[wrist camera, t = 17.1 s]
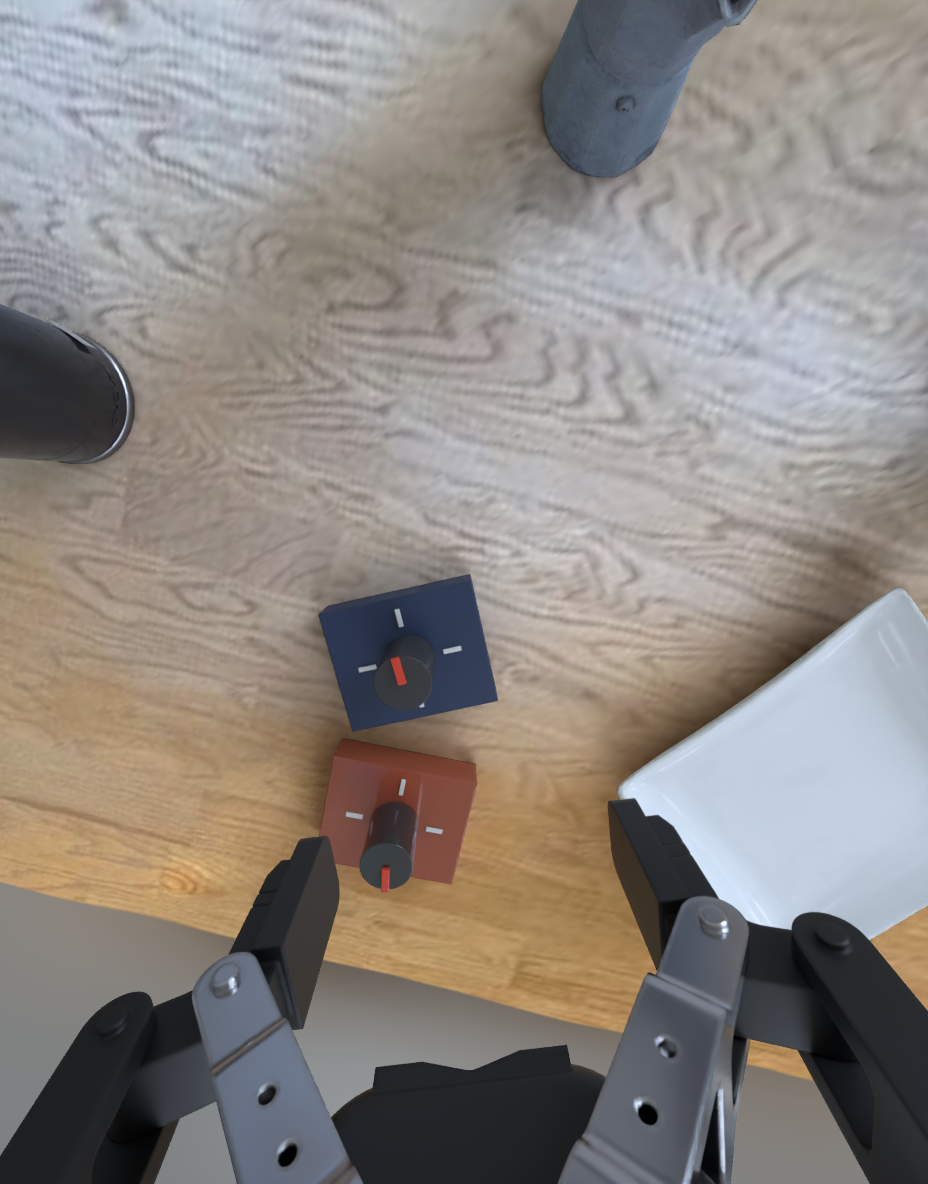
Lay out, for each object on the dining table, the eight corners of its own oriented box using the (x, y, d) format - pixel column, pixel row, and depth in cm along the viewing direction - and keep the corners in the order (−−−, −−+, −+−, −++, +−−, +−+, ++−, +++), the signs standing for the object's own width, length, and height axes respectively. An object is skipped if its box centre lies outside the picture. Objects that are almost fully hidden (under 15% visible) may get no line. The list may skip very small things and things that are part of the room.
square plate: (599, 767, 45) (612, 793, 41) (867, 573, 42) (908, 582, 38) (763, 959, 49) (789, 999, 46) (1017, 798, 46) (1067, 827, 42)
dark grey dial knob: (371, 800, 42) (358, 844, 37) (419, 802, 42) (413, 847, 37) (370, 842, 43) (358, 891, 38) (417, 844, 43) (411, 894, 38)
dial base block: (323, 836, 46) (313, 861, 43) (341, 737, 44) (333, 756, 41) (452, 859, 47) (451, 886, 44) (476, 763, 45) (477, 784, 42)
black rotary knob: (441, 676, 40) (438, 704, 35) (392, 688, 40) (382, 718, 35) (427, 628, 39) (422, 650, 34) (377, 641, 39) (365, 665, 34)
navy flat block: (359, 715, 44) (351, 733, 41) (327, 605, 42) (317, 615, 39) (495, 686, 43) (498, 701, 40) (470, 573, 41) (471, 581, 38)
